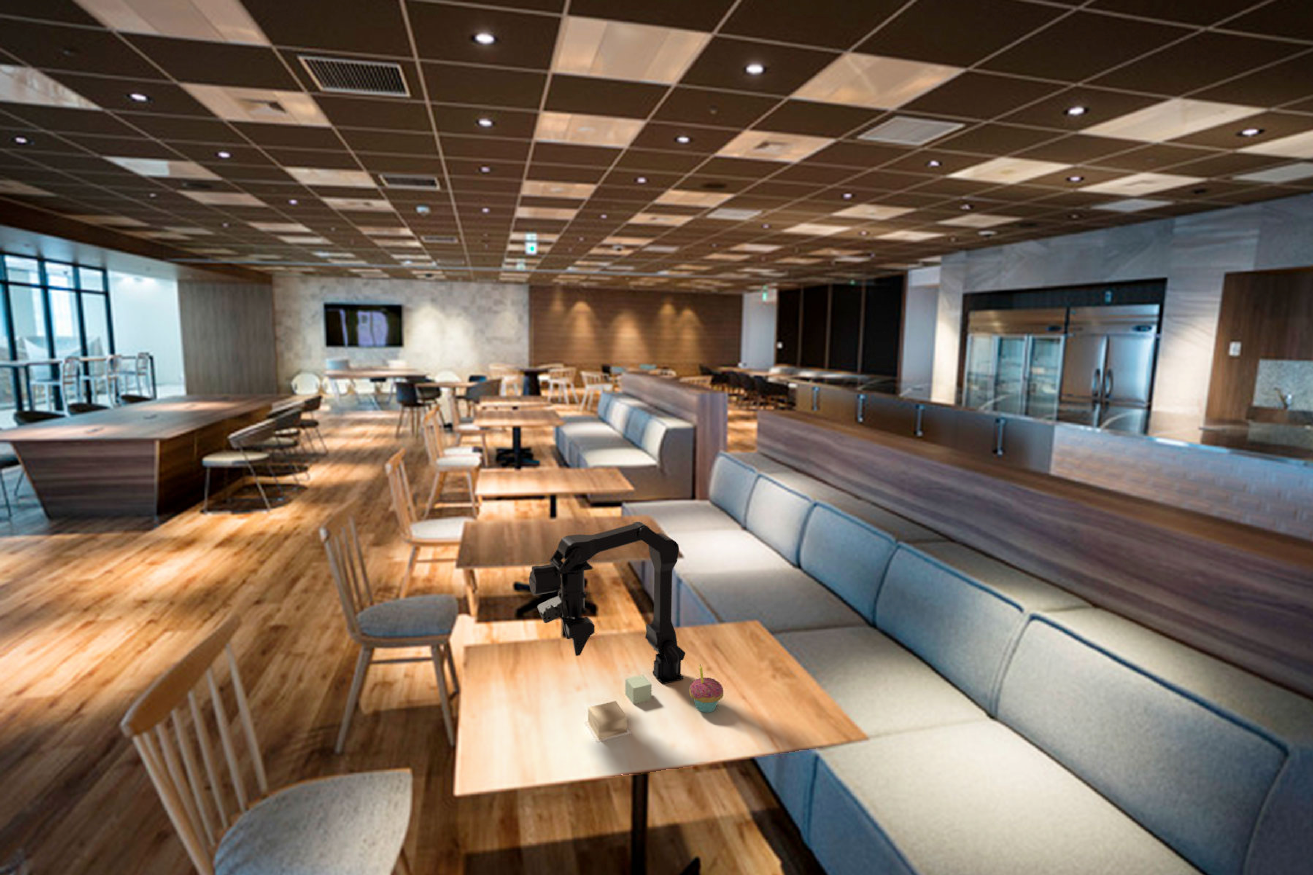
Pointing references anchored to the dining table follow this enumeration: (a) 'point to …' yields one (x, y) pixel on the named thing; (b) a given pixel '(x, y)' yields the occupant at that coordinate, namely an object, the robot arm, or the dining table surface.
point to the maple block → (607, 720)
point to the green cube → (638, 689)
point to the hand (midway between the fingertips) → (573, 646)
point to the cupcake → (705, 693)
